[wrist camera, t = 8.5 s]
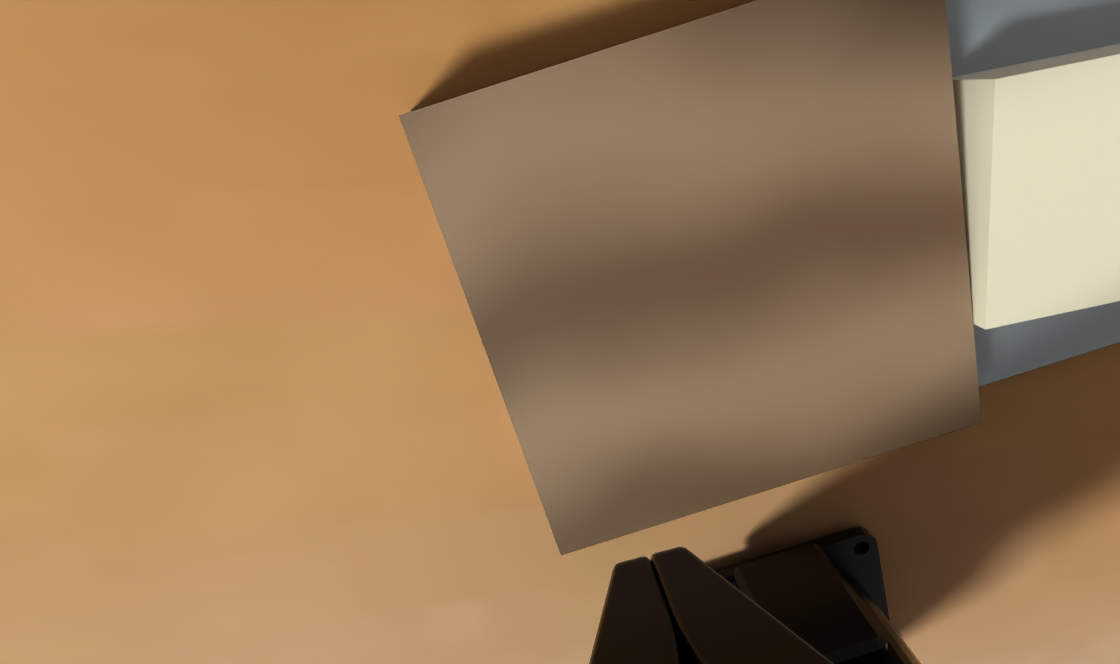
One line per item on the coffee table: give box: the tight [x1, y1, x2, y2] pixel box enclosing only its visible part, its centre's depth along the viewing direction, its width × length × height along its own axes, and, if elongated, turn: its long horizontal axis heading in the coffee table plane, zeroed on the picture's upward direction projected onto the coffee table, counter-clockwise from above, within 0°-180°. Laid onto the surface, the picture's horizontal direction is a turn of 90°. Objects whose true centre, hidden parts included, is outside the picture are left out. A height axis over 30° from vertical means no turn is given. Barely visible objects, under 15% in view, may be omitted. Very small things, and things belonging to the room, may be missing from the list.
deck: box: [399, 0, 982, 555], centre depth 17 cm, size 12×12×2 cm
